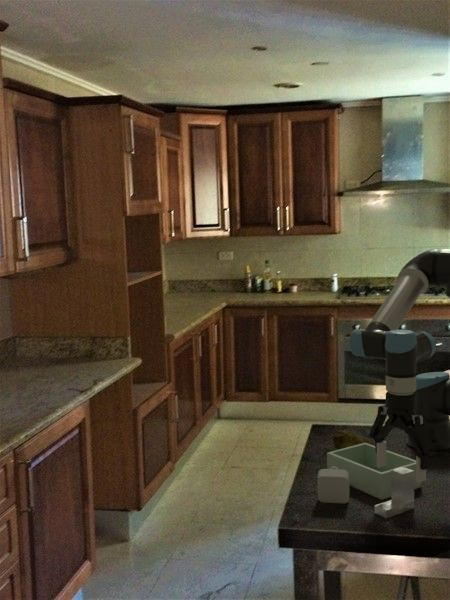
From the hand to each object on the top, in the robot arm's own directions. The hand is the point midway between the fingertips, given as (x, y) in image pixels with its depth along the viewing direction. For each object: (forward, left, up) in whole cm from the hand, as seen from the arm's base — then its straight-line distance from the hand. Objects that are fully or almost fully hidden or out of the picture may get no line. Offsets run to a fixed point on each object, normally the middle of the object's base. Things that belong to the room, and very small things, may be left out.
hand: (400, 473), depth 186 cm
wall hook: (+8, -16, -10) cm, 21 cm away
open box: (-8, -18, -9) cm, 22 cm away
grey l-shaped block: (+2, 0, -9) cm, 10 cm away
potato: (-19, -38, -10) cm, 43 cm away
